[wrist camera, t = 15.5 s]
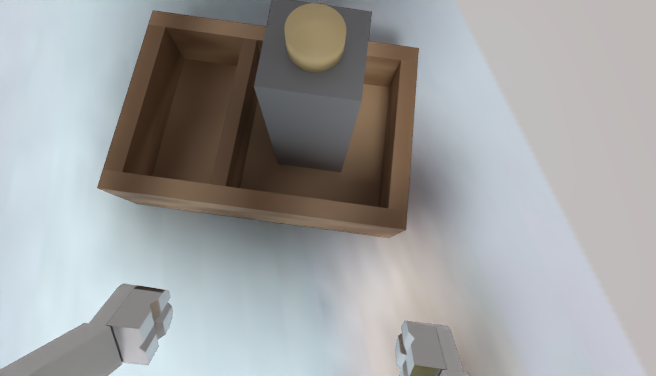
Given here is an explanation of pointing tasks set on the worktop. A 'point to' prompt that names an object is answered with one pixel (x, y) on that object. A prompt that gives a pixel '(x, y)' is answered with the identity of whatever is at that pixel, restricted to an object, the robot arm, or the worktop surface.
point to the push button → (312, 81)
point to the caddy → (254, 135)
